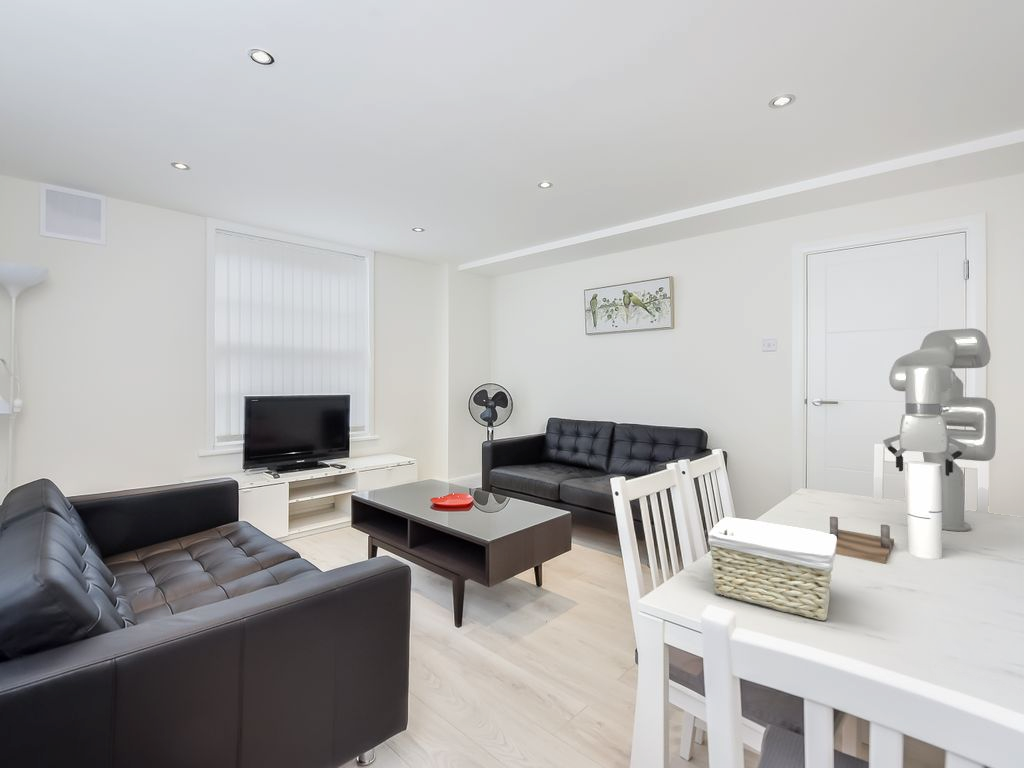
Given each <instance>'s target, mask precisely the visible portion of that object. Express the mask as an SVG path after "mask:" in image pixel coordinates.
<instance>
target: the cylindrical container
mask: <svg viewBox="0 0 1024 768" xmlns="http://www.w3.org/2000/svg"><path fill="white" fill-rule="evenodd" d="M906 489H907V490H906V501H907V504H906V507H907V509H906V511H907V513H906V515H907V516H906V517H907V519H906V520H907V525H906V526H907V553H908V554H909V555H911V556H913V557H917V558H919V559H920V558H921V559H925V560H926V559H927V560H941V559H943V529H942V477H941V464H937V463H931V462H924V461H907V462H906Z"/></svg>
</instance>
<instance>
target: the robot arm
mask: <svg viewBox="0 0 1024 768" xmlns="http://www.w3.org/2000/svg"><path fill="white" fill-rule="evenodd" d="M987 338H988V337H987V336H986V335H985V333H984V332H983V331H982V330H980V329H977V328H974V327H971V328H958V329H942V330H936V331H932V332H930V333H928V334H927V335H926V336H925V337H924V339H923V340H922V343H921V344H920V348H919V349H917V350H915V351H913V352H910V353H907V354H903V355H902V356H900V357H899V358H897V359H896V360H895V361H894V363H893V366H892V367H891V369H890V372H889V376H888V377H889V379H888V380H889V385H890V387H891V388H892V389H893V390H895V391H898V392H905V394H904V395H905V398H904V399H905V400H904V401H905V411H904V412H905V414H902V415H901V419H900V424H899V425H900V427H899V434H896V435H894V436H891V437H888V438H885V439H883V441H882V442H883V443H884V445H885V447H886V448H887V450H888V451H889V452H890V453H892V454H893V455H894V456H895V468H897V469H898V471H899V472H903V471H904V456H903V454H904V453H905V452H907V451H908V452H919V453H922V456H923V462H931V463H937V464H941V477H942V530H945V531H954V532H968V531H970V530H971V529H972V525H971V524H970V523H968V522H965V475H964V474H965V473H964V472H963V469H961V467H960V465H958V464H957V463H956V462H955V461H954V460H963V461H964V460H965V461H974V462H975V461H977V462H988V461H991V460H993V459H994V457H995V455H996V448H997V447H996V445H997V443H996V440H997V439H996V438H997V437H996V436H997V428H996V427H997V426H996V425H997V423H996V422H997V415H996V414H997V413H996V408H995V405H994V403H993V401H992V400H991V399H990V398H989V399H988V398H986V397H979V396H978V397H977V396H976V397H975V396H973V397H972V396H969V397H968V396H964V383H963V381H962V380H961V379H960V378H959V377H958V376H957V375H956V372H955V371H954V369H981V368H984V367H986V366H987V365H988V364H989V363H990V361H991V349H990V345H989V341H988V339H987ZM949 427H969V428H973V429H957V428H949ZM896 441H899V449H898V450H897V448H896V447H893V444H892V443H893V442H896Z"/></svg>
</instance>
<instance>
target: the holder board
mask: <svg viewBox="0 0 1024 768" xmlns="http://www.w3.org/2000/svg"><path fill="white" fill-rule="evenodd" d="M829 534H833V535H835V536H836V537H837V544H836V553H835V555H841V556H846V557H849V558H850V557H851V558H855V559H860V560H864V561H870V562H874V563H875V562H876V563H880V564H887V561H888V559H889V557H890V554H891V553H892V550H893V547H894V545H895V539H894V538H891V526H890V525H888V524H880V536H879V535H873V534H867V533H862V532H856V531H850V530H845V529H840V528H839V517H837V516H829Z"/></svg>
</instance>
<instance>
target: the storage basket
mask: <svg viewBox="0 0 1024 768" xmlns="http://www.w3.org/2000/svg"><path fill="white" fill-rule="evenodd" d="M707 543H708V545H709V546H710V555H711V558H712V559H711V563H712V564H711V568H712V578H713V579H712V580H713V587H714V588H713V590H714V593H715V594H717V593H718V594H717V595H719V594H721V595H720V596H722V595H724V596H723V597H726V596H727V597H726V598H730V597H731V598H730V599H736V600H739V601H743V602H748V603H751V604H756V605H760V606H763V607H768V608H770V609H774V610H777V611H779V612H784V613H790V614H796V615H800V616H804V617H806V618H811V619H815V620H819V621H827V617H828V611H829V605H830V601H831V599H830V592H831V581H832V571H833V569H834V566H833V565H834V561H835V557H836V554H835V553H836V544H837V537H836V536H835V535H833V534H830V533H827V532H823V531H819V530H812V529H808V528H800V527H797V526H796V527H795V526H790V525H789V526H788V525H783V524H775V523H770V522H765V521H757V520H752V519H746V518H737V517H728V516H725V517H723V518H722V519H721V520H720V521H718V522H717V523H715V525H714V526H713V527H712V529H711V530H710V532H709V533H708V538H707Z"/></svg>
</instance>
